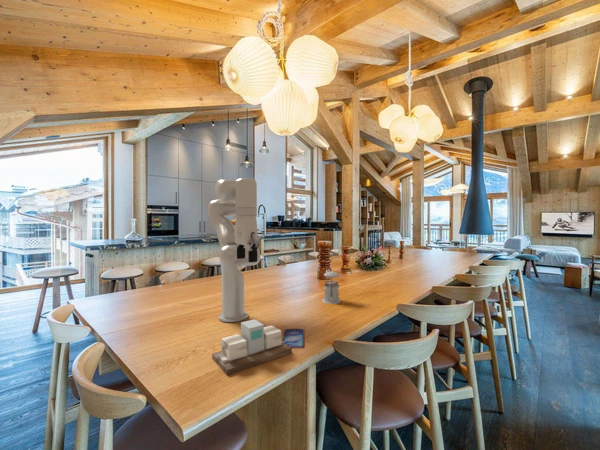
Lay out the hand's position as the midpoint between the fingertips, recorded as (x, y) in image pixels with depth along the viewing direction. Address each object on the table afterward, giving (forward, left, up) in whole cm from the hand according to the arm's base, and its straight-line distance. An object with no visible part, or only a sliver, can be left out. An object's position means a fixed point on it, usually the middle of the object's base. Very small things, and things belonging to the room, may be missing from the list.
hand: (246, 260), depth 107 cm
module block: (+14, -5, -26) cm, 30 cm away
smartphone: (+11, +13, -29) cm, 34 cm away
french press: (-14, +54, -28) cm, 63 cm away
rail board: (+14, -5, -28) cm, 32 cm away
